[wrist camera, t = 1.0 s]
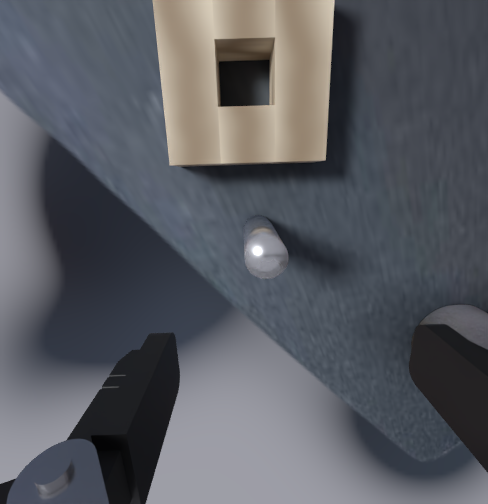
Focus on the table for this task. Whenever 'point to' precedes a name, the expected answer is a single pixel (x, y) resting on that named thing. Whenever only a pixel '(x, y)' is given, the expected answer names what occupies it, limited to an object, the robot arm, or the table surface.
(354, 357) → the table surface
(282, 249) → the steel pin
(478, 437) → the robot arm
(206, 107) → the oak hole block
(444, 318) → the pillar candle
